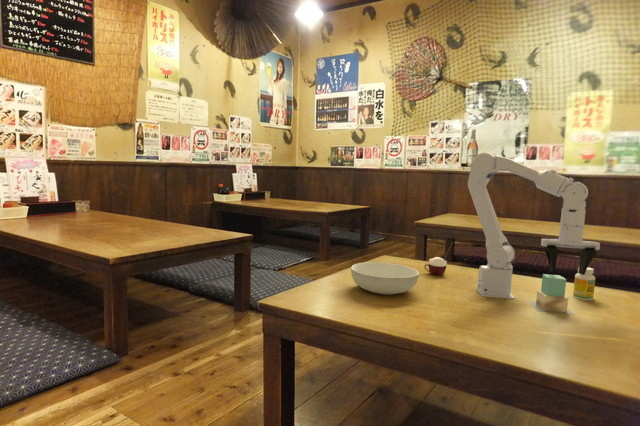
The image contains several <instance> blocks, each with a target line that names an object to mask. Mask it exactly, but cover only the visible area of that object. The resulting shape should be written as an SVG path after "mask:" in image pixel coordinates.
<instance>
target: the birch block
mask: <svg viewBox="0 0 640 426" xmlns="http://www.w3.org/2000/svg"><path fill="white" fill-rule="evenodd" d="M535 302H536V304H537V305H538V306H539V307H541V308H542V309H543V310H547V311H559V312H567V309H568V305H569V304H568V303H569V297H567V296H566V295H565V297H556V296H547V295H545V294H544V293H543V292H542V291H541V289H539V290H538V289H537V290H536V301H535Z"/></svg>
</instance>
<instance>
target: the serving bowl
mask: <svg viewBox="0 0 640 426" xmlns="http://www.w3.org/2000/svg"><path fill="white" fill-rule="evenodd" d="M350 273H351V277H352V280H353V282H354V283H355V284H356V285H357V286H359V287H360V288H362V289H363V290H366V291H369V292H371V293H374V294H378V295H389V296H390V295H395V294H397V295H398V294H402V293H406V292H408V291H410V290H412V288H414V286H416V284H417V282H418V280H419V278H420V277H419V276H420V272H419V270H417V269H416V268H413V267H410V266H406V265H402V264H397V263H393V262H392V263H391V262H378V261H375V262H374V261H373V262H372V261H371V262H370V261H368V262H359V263H355V264H353V265H352V266H351V267H350Z"/></svg>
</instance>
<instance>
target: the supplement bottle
mask: <svg viewBox="0 0 640 426" xmlns="http://www.w3.org/2000/svg"><path fill="white" fill-rule="evenodd" d="M593 274H594V268H591V267H589V266H588V267H587V269H586V272H585V275H582V274H580V273H579V266H578V269H577V273H575V275H574V282H573V293H572V297H574V299H575V298H576V299H579V300H583V301H592V300H593V299H594V294H595V286H596V277H595V275H593Z"/></svg>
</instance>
